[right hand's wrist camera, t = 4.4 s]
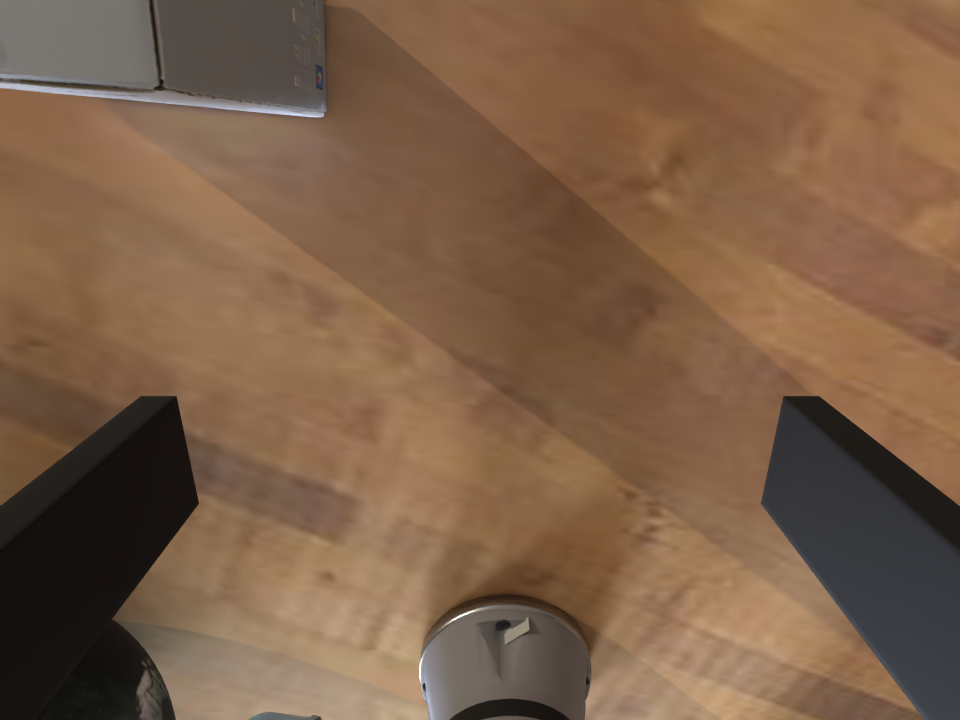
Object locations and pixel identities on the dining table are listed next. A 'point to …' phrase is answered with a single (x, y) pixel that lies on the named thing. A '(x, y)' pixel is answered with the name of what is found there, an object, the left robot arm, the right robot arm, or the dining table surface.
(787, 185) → the dining table surface
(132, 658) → the sphere
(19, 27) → the hard drive box
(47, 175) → the dining table surface
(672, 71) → the dining table surface
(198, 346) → the dining table surface
